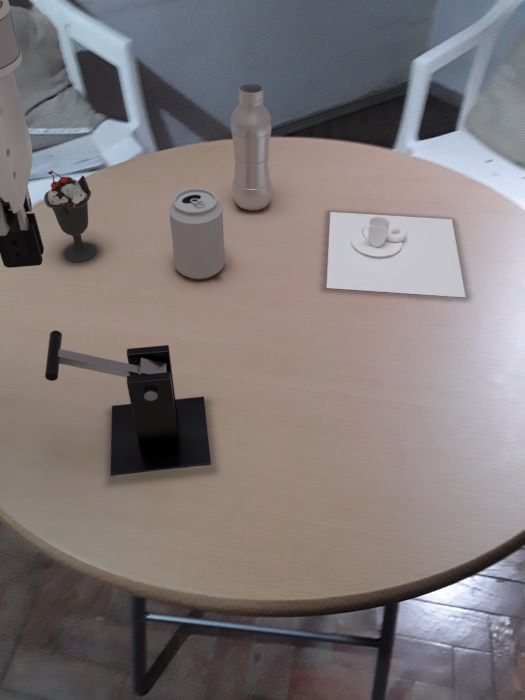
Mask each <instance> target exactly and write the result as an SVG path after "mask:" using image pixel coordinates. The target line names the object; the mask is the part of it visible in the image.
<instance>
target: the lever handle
mask: <svg viewBox="0 0 525 700" xmlns="http://www.w3.org/2000/svg"><path fill="white" fill-rule="evenodd" d="M62 339H63V334H62V332H61V331H59V330H52V331H51V332H50V333H49V338H48V347H47V355H46V363H45V364H46V365H45V370H44V371H45V373H44V377H45V379H46V380H47V381H49V382H53V381H56V380H58V378H59V371H60V364H61V365H63V366H64V365H65V366H69V367H74V368H79V369H84V370H88V371H92V372H93V371H94V372H99V373H104V374H108V375H113V376H118V377H123V378H127V376H134V375H144V374H155V373H165V372H167V370H166V363H163V362H159V361H154V360H149V359H145V358H141V359H140V361H139V363H138V365H132V364H129V363H128V362H123V361H119V360H113V359H109V358H104V357H99V356H96V355H95V356H94V355H91V354H86V353H81V352H76V351H73V350H72V351H71V350H67V349H62V342H63V341H62Z"/></svg>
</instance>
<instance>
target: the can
mask: <svg viewBox="0 0 525 700" xmlns="http://www.w3.org/2000/svg"><path fill="white" fill-rule="evenodd" d="M223 212H224V211H223V205H222V203H221V202H220V200H219V199H218V196H217V195H216V193H215V192H213V191H212V190H210V189H207V188H203V187H189V188H185V189H182V190H180V191H178V192H177V193H176V194H174V195H173V198H172V202H171V204H170V206H169V208H168V213H169V223H170V230H171V231H170V232H171V241H172V251H173V260H174V261H173V262H174V269H175V270H176V271H177V272H178V273H179V274H180V275H183V276H185V277H187V278H189V279H192V280H205V279H209V278H211V277H213V276H215V275H216V274H218V273H220V272H221V270H223V268H224V266H225V263H226V262H225V261H226V260H225V259H226V258H225V239H224V238H225V236H224V235H225V233H224V213H223Z"/></svg>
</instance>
